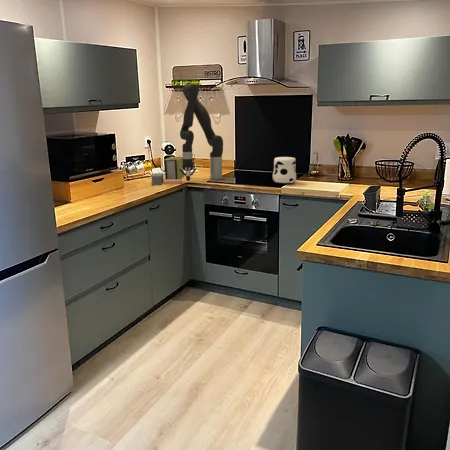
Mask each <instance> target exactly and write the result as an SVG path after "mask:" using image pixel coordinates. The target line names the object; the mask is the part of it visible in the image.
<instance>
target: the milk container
mask: <svg viewBox="0 0 450 450" xmlns="http://www.w3.org/2000/svg"><path fill="white" fill-rule="evenodd" d="M296 162H297V161H296V157H292V156H278V157H275V158H274V159H273V173H272V181H273V182H274V183H276V184H280V185H287V184H288V183H290V184H292V183H291V182H294V181H295V182H296V180H297V173H296V166H297V165H296ZM295 182H294V183H295ZM288 185H289V184H288Z"/></svg>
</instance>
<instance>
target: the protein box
mask: <svg viewBox="0 0 450 450" xmlns="http://www.w3.org/2000/svg"><path fill="white" fill-rule="evenodd" d="M163 163H164V177H165V179H182V178H183V177H185V176H184V175H183V174H182V172H181V171H180V168H182V166H183V160H182V156H170V157H167V158H165V159H164V162H163ZM183 171H184V169H183ZM184 172H185V171H184ZM165 179H164V180H165Z"/></svg>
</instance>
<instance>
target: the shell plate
mask: <svg viewBox="0 0 450 450" xmlns="http://www.w3.org/2000/svg"><path fill="white" fill-rule="evenodd" d="M182 182H183V180H182V178H180V179H164V181H163V182H162V185H181V184H182Z"/></svg>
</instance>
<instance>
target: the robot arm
mask: <svg viewBox="0 0 450 450" xmlns="http://www.w3.org/2000/svg"><path fill="white" fill-rule="evenodd" d="M199 90H200V89H199V86H198V84H196V83H185V84H184V85H183V86H182V94H183V95H184V98H185V99H186V100H187V104H186V107H185V111H184V113H183V119H182V125H181V128H180V132H179V137H180V139H181V140H184V141H185V143H183V144H182V153H181V154H182V156H181V157H182V160H183V166H182V168H180V171H181V172H182V174H183V175H184V177H185V179H186V181H187V182H190V180H191V176H193V175H194V173H195V172H196V171H197V168H196V167H194V160H193V159H194V157H193V156H194V155H193V143H194V139H195V135H194V132H193V131H192V130H190V128H192V127H193V124H194V115H195V118H196V119H197V121H198V123H199V125H200V127H201V129H202V131H203V133H204V136H205V138H206V142H207V143H208V145H209V146H210V147H211V149H212V150H211V152H210V153H209V162H210V163H209V168H210V169H209V171H210V173H209V174H210V176H209V177H210V180H213V181H214V180H217V181H218V180H223V153H224V139H223V137H222V136H220V135H218V134H216V133H215V131H214V129H213V127H212V120H211V116H210V114H209V112H208V109H206V107H205V106H204V105H203V104H202V103H201V102H200V101H199V98H198V96H199ZM183 169H184V171H183ZM191 171H192V172H191Z"/></svg>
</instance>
